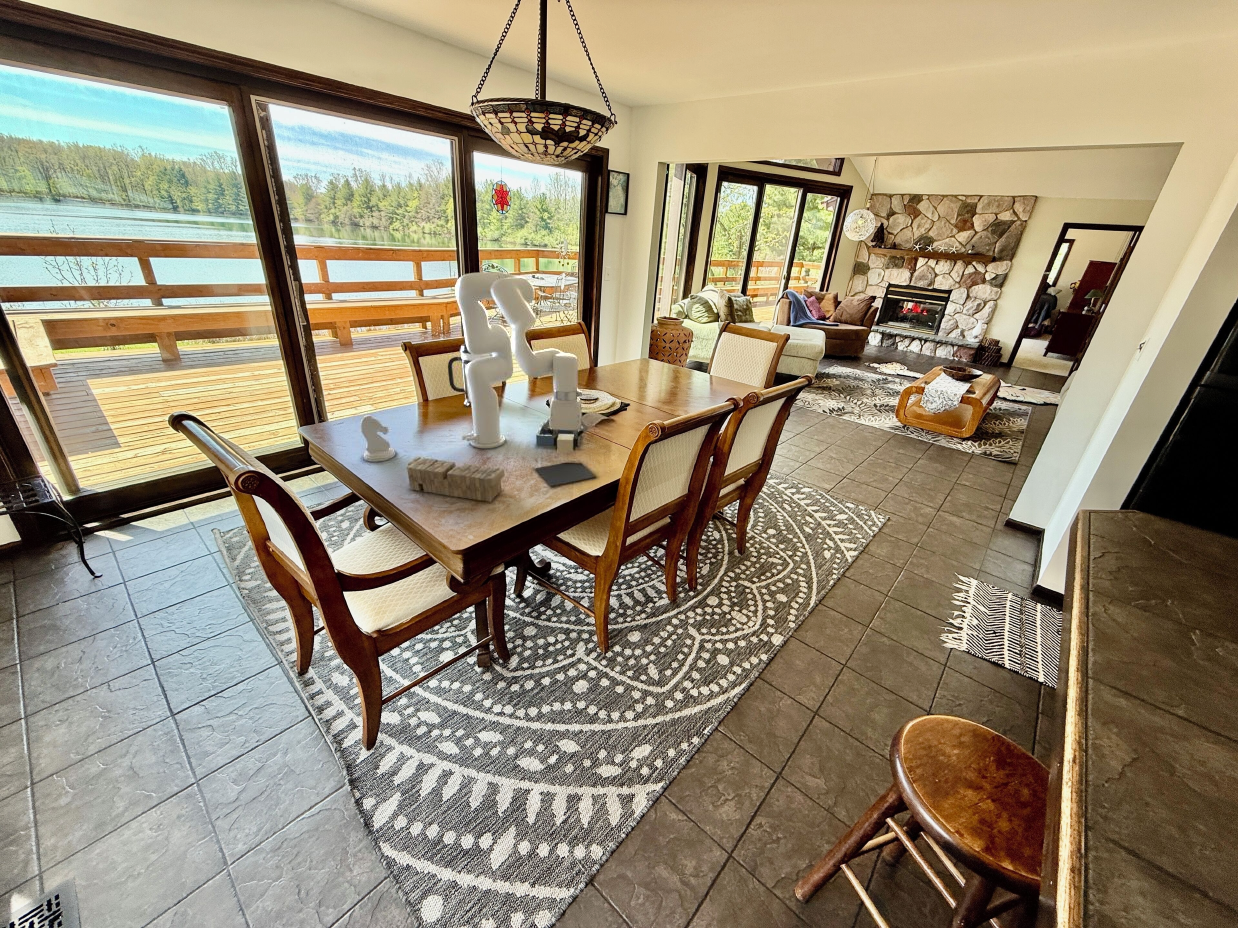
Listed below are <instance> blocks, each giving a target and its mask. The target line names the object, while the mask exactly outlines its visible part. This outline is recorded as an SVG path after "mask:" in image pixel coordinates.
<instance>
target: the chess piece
mask: <svg viewBox="0 0 1238 928" xmlns="http://www.w3.org/2000/svg"><path fill="white" fill-rule="evenodd" d="M360 432H361V434H362V435H363V437H364V439H365V441H366V446H365V447H364V450H365V452H364V453H363V460H365V461H367V462H372V463H373V462H374V463H375V462H383V461H388V460H390V459H392V458H393V457H394V456H395V455H396V452H395V450H394V449H393V448H391V444H390V442H389V441H388V440H387V439H386V438H385V437H384V436H382V435H381V434H383V435H385V436H386V435H387V434H388V433H389V427H388V426H387V425H384V424H383V423H381V422H380V421H379V420H378V418H376V417H373V416H372V414H367V415H364V416H363V417H362V419H361V420H360ZM379 433H381V434H379Z"/></svg>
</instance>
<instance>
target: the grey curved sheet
mask: <svg viewBox="0 0 1238 928" xmlns="http://www.w3.org/2000/svg"><path fill="white" fill-rule="evenodd" d="M582 419H583V420H584V422H585V423H586V424H587V425H588V426H591V427H595V426H596V425H597V424H598V423H599V422H600V421H602V420H604V419H610V420H612V421H614V419H613V418H611V417H607V416H605V415H602V414H600V413H598V412H588V413H585V414H584V415H582Z"/></svg>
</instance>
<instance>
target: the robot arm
mask: <svg viewBox="0 0 1238 928" xmlns="http://www.w3.org/2000/svg"><path fill="white" fill-rule="evenodd" d="M454 287H455V289H454V291H455V292H454V293H455V299H456V302H457V304H458V307H459V310H460V314H461V320H462V327H463V328H462V329H463V335H464V341H465V342H464V343H466V346H467V349H468V351H469V352H470V353H471V354H473V355H482V354H488V353H492V356H490V357H485V358H480V359H476V360H473V361H471V362H470V363H468V365H467V366H466V369H465V373H466V378H467V381H468V385H469V389H470V396H471V403H470V404H471V414H472V429H473V430H472V429H471V432H469V433H468V434H460V439H461V441H466V442H469V443H470V445H471V446H473V447H474V448H478V449H494V448H498V447H500V446H502V445H503V444H505V442H506V439H505V436H504V435H503V434H501V424H500V423H501V422H500V412H499V411H500V409H499V397H498V393H497V392H496V390H495V389H494V387H493V385H494V384H498V383H502V382H505V381H508V380H510V379H511V378H512V376H513V373H514V363H513V361H514V360H513V358H514V359H515V361H516V362H517V364H518V366H519V368H520V369H521V371H522V372H523V373H524V374H525V375H526V376H528V377H530V378H531V379H532V378H533V379H536V378H541V377H544V376H547V375H552V388H553V390H552V392H553V393H552V394H553V396H552V397H551V399H550V405H549V417H548V419H547V420H546V421H545V423H544V424H543V428H544V429H545V430H546V431H548V432H549V433H550V434H551V435H552V437H553V438H554V446H556V447H555V450H557V439H558V434H557V432H558V430H572V431H573V434H574V438H573V450H574V451H576V447H578V437H579V436H582V435H583V434H584V433H586V432H587V431H589V428H590V426H589V424H586V423H585V422H584V420H583V419H582V416H583V411H582V410H583V409H582V402H581V401H582V400H581V398H580V397H582V396H583V391H580V389H579V387H578V386H579V385H578V384H579V378H578V377H579V376H578V375H579V361H578V357H577V356H576V355H575V354H572V353H565V352H563V351H561V350H559V349H557V348H548V349H542V350H537V351H533V350H532V349H531V347H530V345H529V343H528V342H527V337H526V333H527V332H528V331H530V329H531V328H533V327H534V325H535V323H536V322H537V321H536V320H537V318H536V315H535V314H534V312H533V310H532V309H531V307H530V305H529V304H531V303H532V302H534V299H535V295H536V294H535V288H534V285H533V284H532V283H531V281H530V280H528V279H527V278H526V277H523V276H519V275H514V274H511V273H507V272H503V271H502V272H501V271H500V272H499V271H494V272H493V271H490V272H488V271H487V272H471V273H470V272H469V273H465V274H463V275H461V276H460V277H459V278H457V280H456V283H455V286H454ZM492 300H493V302H495V304H496V306H497V308H498V309H499V311H500V313H501V314H502V316H503V318H504V320H505V321H506V323H507V324H508V326H509V328H510V329H511V335H509V333H508V331H507V329H506V328H505V327H504V326H503V325H501V324H497V323H494V324H490V323H489V314H488V311H487V309H486V308H485V306H484V305H483V304H482V302H481V301H492ZM548 425H550V427H549V426H548ZM580 428H581V429H580ZM553 429H554V430H553ZM579 429H580V430H579ZM578 430H579V431H578ZM578 448H579V447H578Z"/></svg>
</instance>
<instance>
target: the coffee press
mask: <svg viewBox="0 0 1238 928" xmlns="http://www.w3.org/2000/svg"><path fill="white" fill-rule="evenodd" d="M459 352H460V356H453V357H451V358H450V359H449V361H448V363H447V375H448V381H449V386H450V388H451V389H452V390H453V391H455V392H458V393H463V394H464V398H465V400H464V402H463V406H466V407H469V406H470V404H471V396H470V389H469V385H468V381H467V378H466V373H465V369H466V366H467V365H468V363H470V362H471V361H473V360H476V359H480V358H485V357H491V356H492V353H488V354H482V355H473V354H471V353H470V352H469V351H468V349H467V346H466V342H464V343H463V344H461V345H460V348H459ZM455 362H460V363H461V368H462V376H463V378H462V379H463V387H457V386H456V385H455V380H454V371H453V370H454V369H453V364H454V363H455Z"/></svg>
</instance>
